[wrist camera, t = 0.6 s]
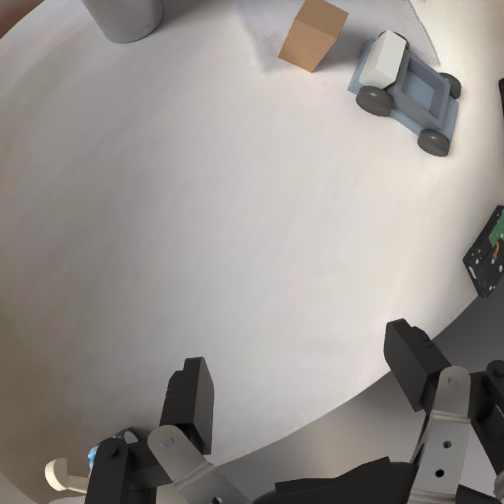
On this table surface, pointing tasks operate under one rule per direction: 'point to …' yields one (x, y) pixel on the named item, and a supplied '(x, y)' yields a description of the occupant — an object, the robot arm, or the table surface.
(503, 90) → the network switch
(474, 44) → the table surface
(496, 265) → the disk drive
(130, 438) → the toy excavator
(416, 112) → the chassis
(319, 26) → the brown rectangular block
